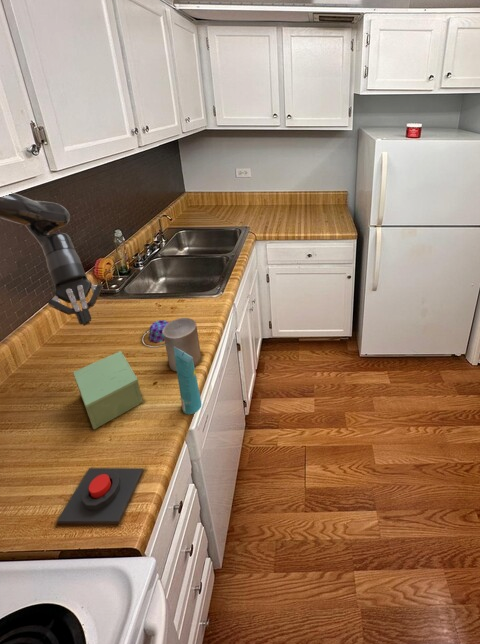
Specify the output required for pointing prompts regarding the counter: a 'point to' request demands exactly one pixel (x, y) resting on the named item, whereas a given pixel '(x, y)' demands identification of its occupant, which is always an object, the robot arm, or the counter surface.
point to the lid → (104, 378)
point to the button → (100, 486)
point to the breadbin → (114, 405)
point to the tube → (187, 382)
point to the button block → (102, 498)
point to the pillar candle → (182, 340)
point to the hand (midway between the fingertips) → (86, 323)
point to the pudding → (156, 332)
